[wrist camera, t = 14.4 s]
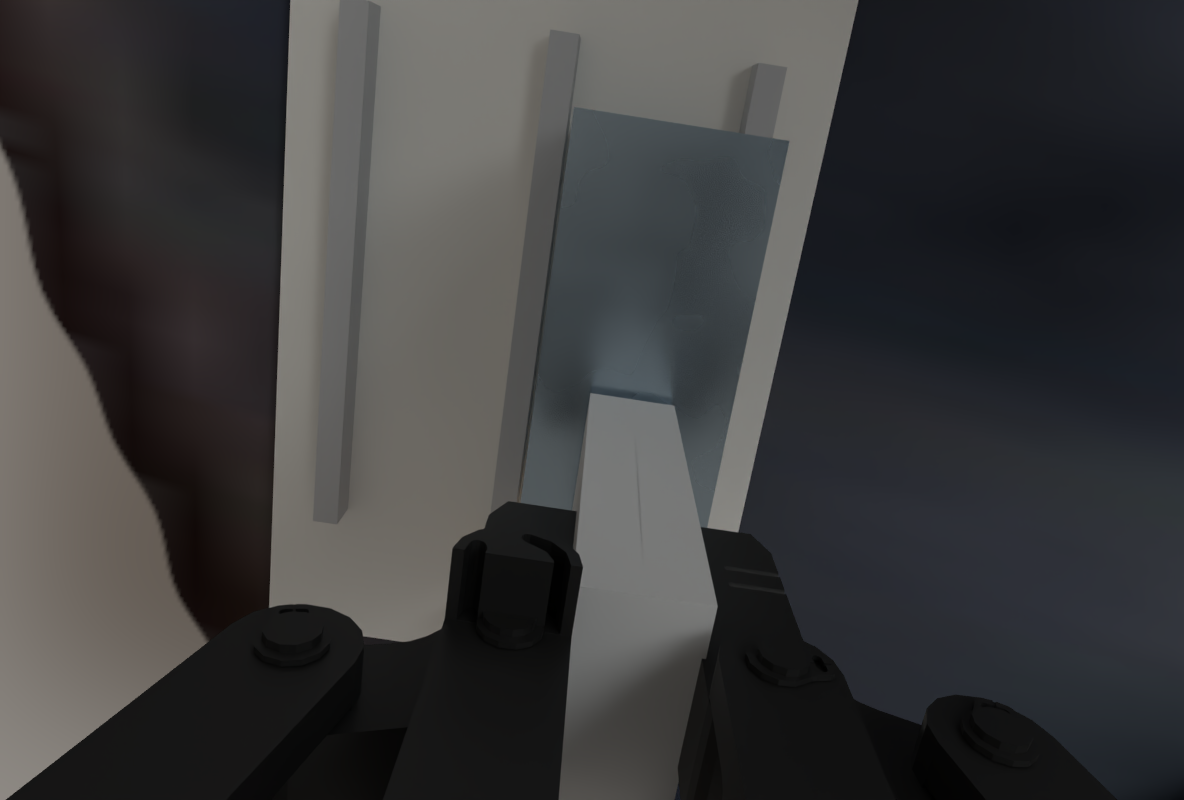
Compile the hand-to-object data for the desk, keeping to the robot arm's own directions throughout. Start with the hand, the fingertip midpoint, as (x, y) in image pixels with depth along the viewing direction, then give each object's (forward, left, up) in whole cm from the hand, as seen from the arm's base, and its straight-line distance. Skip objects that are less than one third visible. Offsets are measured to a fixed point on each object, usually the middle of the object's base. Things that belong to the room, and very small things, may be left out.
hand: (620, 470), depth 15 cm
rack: (0, -3, -13) cm, 13 cm away
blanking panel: (0, 0, -12) cm, 12 cm away
